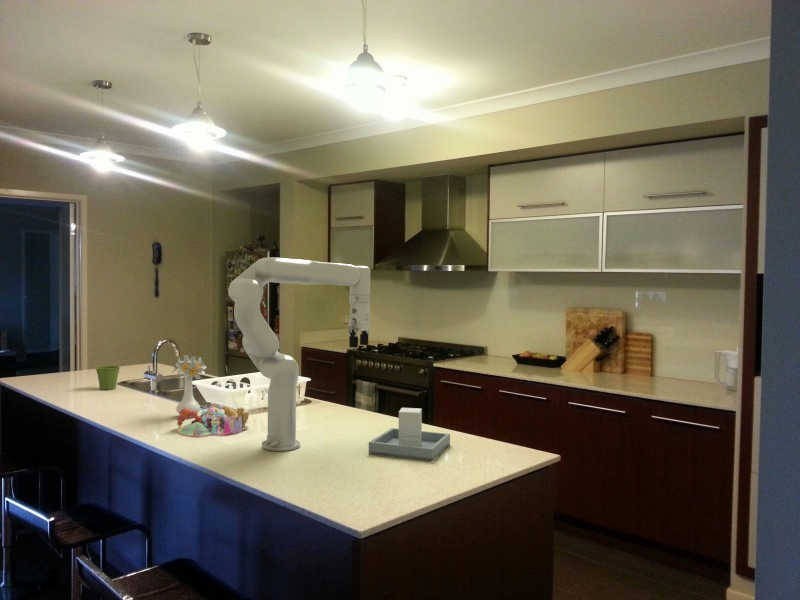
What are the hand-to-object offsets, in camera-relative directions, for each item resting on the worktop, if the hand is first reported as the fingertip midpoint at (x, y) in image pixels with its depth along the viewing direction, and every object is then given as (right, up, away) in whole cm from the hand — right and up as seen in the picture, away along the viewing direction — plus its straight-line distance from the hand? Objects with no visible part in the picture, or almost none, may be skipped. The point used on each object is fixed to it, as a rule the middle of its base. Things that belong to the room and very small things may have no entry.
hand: (358, 346), depth 231 cm
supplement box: (+19, -33, -16) cm, 42 cm away
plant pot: (-133, -29, +88) cm, 162 cm away
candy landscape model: (-56, -33, +7) cm, 65 cm away
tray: (+19, -34, -16) cm, 42 cm away
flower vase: (-72, -31, +28) cm, 83 cm away
